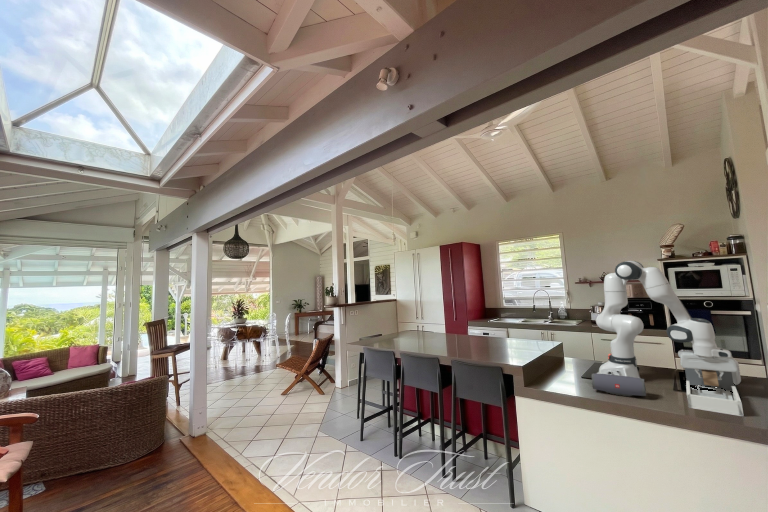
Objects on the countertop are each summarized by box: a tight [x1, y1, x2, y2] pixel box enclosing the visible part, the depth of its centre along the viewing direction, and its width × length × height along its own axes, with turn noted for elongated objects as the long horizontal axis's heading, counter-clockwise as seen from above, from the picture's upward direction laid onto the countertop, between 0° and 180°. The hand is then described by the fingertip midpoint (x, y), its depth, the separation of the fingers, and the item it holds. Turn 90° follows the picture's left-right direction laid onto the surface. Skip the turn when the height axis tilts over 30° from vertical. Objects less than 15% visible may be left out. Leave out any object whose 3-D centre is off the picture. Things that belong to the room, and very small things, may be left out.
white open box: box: [685, 380, 745, 417], centre depth 149 cm, size 17×22×6 cm
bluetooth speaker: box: [591, 372, 647, 397], centre depth 168 cm, size 23×9×10 cm, turn 50°
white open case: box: [684, 368, 735, 400], centre depth 156 cm, size 17×23×15 cm
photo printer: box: [732, 358, 742, 386], centre depth 170 cm, size 10×4×12 cm, turn 123°
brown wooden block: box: [701, 369, 719, 386], centre depth 157 cm, size 5×7×6 cm
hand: (710, 378), depth 157 cm, fingers closed on brown wooden block, 5 cm apart
